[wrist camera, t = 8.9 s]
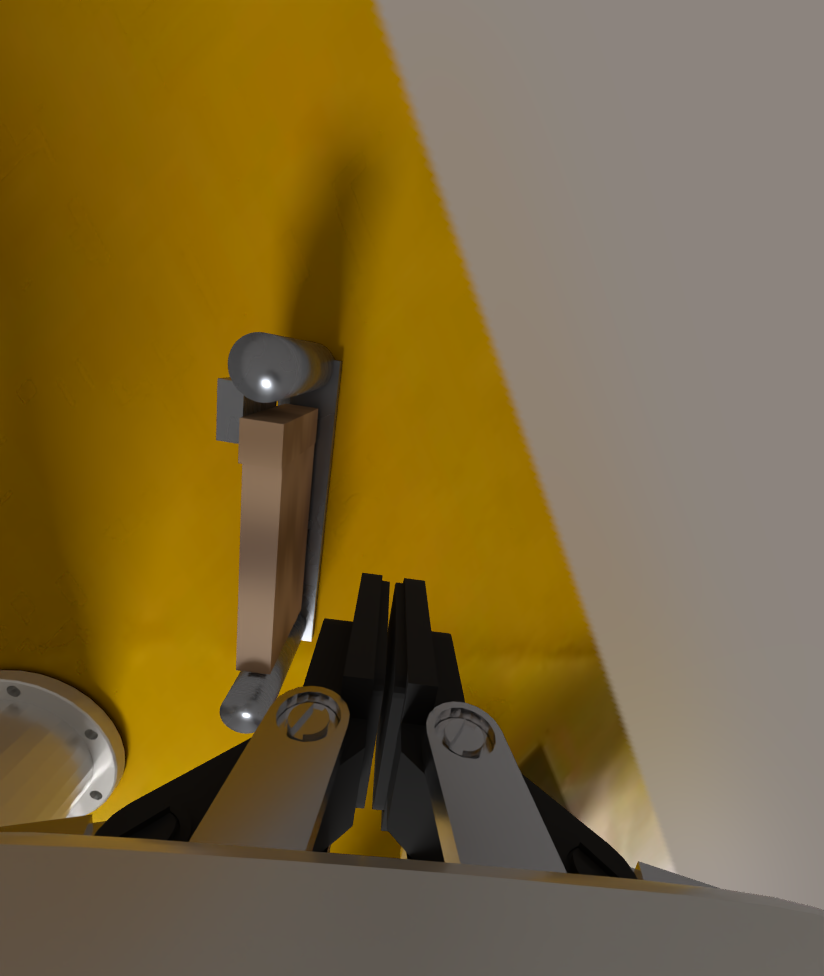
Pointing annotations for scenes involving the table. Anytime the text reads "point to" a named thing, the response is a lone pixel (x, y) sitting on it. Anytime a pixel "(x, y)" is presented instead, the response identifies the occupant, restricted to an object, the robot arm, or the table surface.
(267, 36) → the table surface
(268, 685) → the gate posts
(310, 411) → the gate
